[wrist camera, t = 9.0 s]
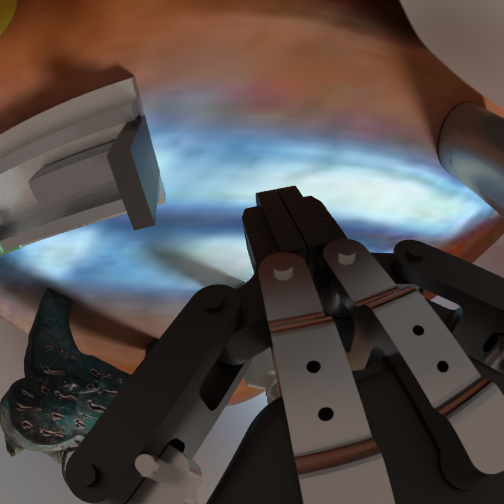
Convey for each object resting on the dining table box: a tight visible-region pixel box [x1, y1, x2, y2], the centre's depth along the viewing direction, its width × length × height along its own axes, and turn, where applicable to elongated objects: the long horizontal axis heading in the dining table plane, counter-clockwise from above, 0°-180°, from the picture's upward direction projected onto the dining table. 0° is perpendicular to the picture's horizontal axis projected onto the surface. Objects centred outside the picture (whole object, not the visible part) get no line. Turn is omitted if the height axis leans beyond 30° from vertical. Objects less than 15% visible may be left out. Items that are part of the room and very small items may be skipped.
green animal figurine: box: [0, 289, 159, 485], centre depth 24 cm, size 20×6×20 cm, turn 44°
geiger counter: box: [235, 282, 279, 404], centre depth 34 cm, size 14×6×25 cm
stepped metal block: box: [28, 115, 160, 230], centre depth 16 cm, size 9×4×7 cm, turn 97°
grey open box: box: [0, 76, 166, 256], centre depth 17 cm, size 20×10×6 cm, turn 97°
